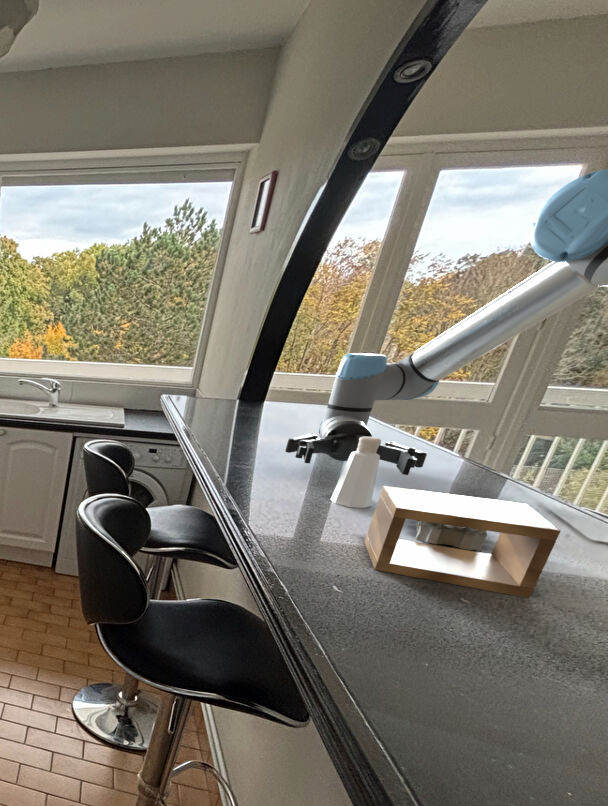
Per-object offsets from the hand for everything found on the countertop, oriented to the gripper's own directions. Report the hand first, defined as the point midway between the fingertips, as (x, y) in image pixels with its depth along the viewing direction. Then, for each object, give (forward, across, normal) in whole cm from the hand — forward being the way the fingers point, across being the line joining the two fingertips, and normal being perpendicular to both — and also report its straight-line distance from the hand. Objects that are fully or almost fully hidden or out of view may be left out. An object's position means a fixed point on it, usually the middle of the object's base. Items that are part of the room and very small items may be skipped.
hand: (357, 461), depth 100 cm
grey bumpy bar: (+17, -10, -6) cm, 21 cm away
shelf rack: (+31, -7, -6) cm, 33 cm away
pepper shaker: (+6, 0, -6) cm, 8 cm away
